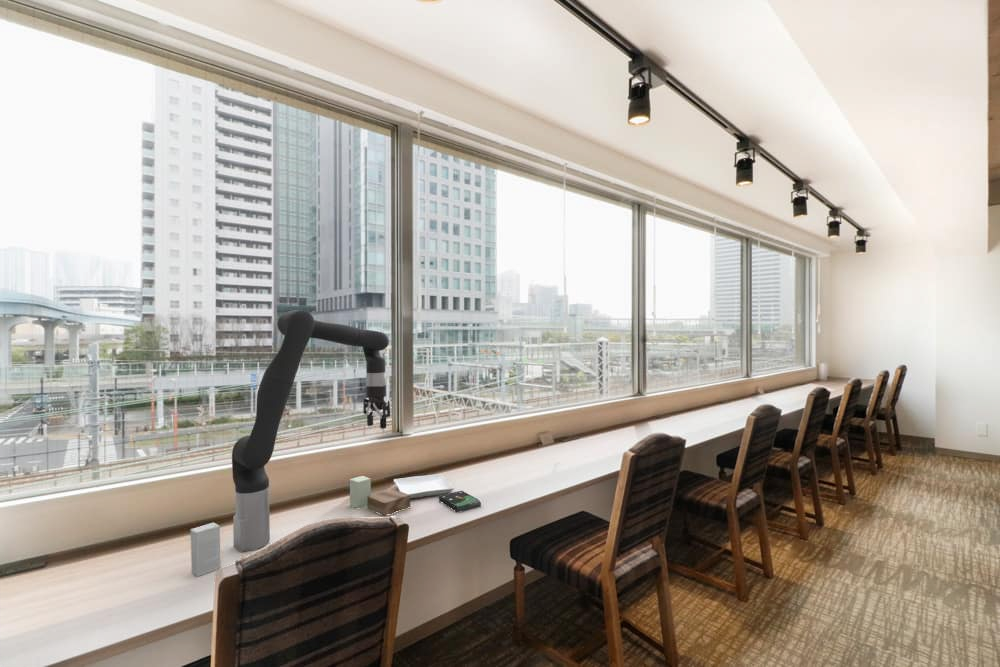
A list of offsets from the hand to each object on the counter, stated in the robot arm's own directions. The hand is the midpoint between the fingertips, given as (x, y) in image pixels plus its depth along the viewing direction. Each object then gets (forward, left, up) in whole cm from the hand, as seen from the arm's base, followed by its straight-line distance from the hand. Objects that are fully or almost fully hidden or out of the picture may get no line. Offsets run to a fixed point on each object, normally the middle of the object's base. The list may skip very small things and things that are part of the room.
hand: (376, 427), depth 179 cm
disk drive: (+20, -24, -30) cm, 43 cm away
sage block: (-5, +4, -29) cm, 30 cm away
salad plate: (+21, -1, -30) cm, 36 cm away
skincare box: (-60, -7, -30) cm, 67 cm away
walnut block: (0, -7, -30) cm, 30 cm away
